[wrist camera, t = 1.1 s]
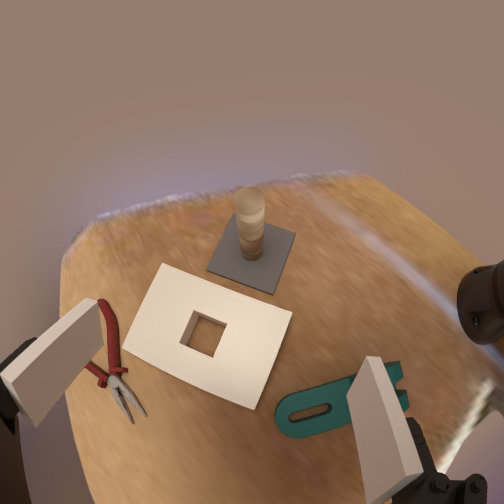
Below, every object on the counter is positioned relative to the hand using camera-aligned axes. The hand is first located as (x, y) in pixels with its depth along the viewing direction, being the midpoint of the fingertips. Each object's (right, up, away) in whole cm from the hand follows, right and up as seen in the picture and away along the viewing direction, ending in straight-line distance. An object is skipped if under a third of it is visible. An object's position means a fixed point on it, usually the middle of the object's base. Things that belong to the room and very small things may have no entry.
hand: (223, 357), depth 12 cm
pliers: (-23, -14, +25) cm, 37 cm away
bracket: (+13, -17, +23) cm, 31 cm away
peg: (+1, +5, +32) cm, 32 cm away
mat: (+1, +5, +32) cm, 33 cm away
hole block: (-5, -8, +27) cm, 28 cm away
